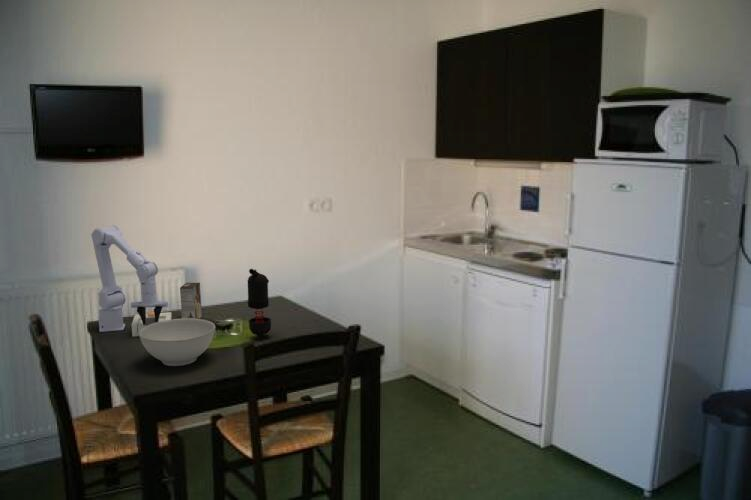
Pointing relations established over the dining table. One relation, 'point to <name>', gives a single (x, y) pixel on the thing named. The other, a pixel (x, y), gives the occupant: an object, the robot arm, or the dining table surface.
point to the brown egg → (151, 313)
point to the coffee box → (191, 300)
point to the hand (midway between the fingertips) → (150, 324)
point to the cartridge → (147, 322)
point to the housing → (138, 318)
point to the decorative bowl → (177, 339)
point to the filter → (258, 303)
